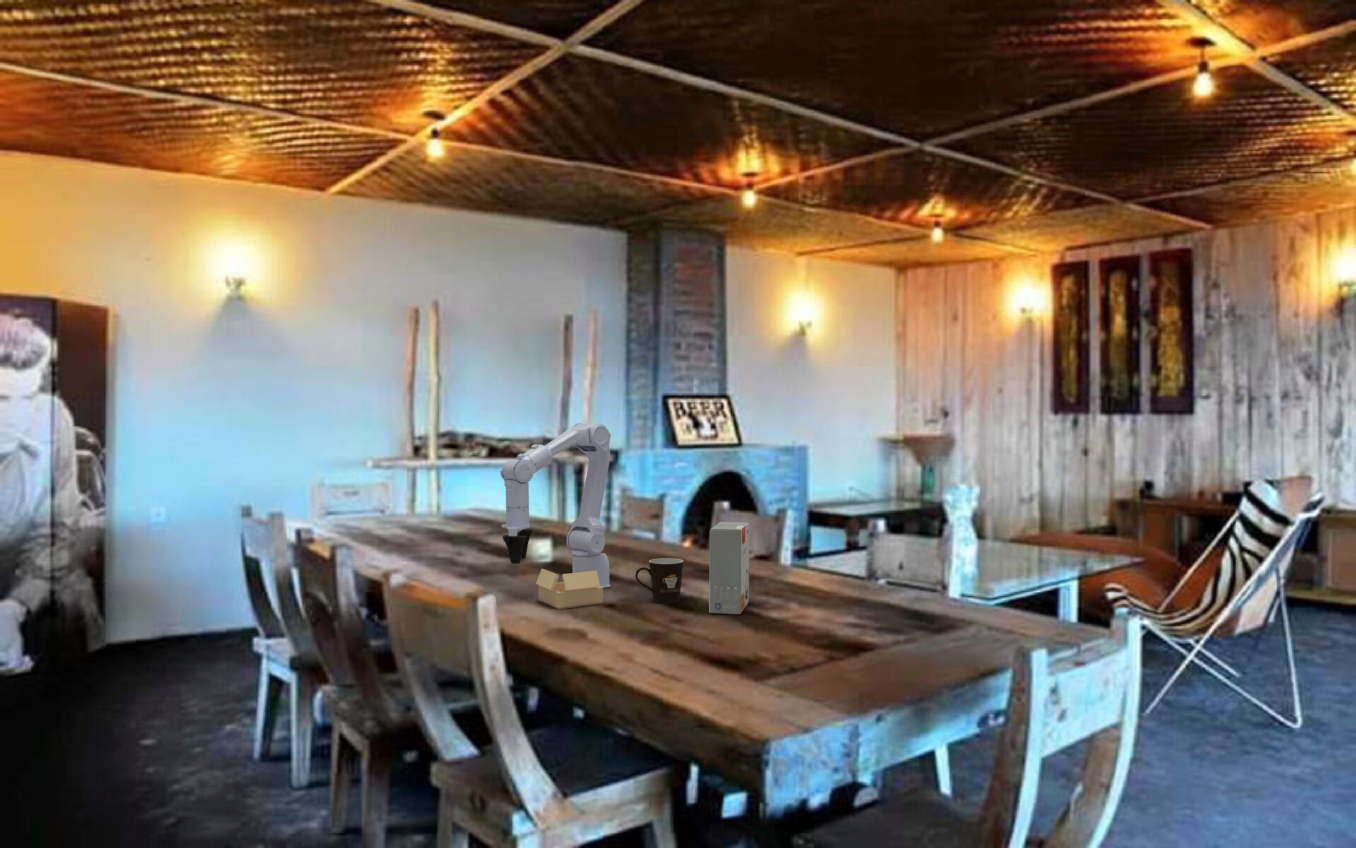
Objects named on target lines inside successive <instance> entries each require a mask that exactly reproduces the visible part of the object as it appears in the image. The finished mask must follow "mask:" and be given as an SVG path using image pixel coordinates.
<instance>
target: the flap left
mask: <svg viewBox="0 0 1356 848" xmlns="http://www.w3.org/2000/svg"><path fill="white" fill-rule="evenodd" d="M561 578H562V582H563V584H564V589H565V591H571V590H579V589H588V588H596V587H600V584H599V579H598V575H597V571H588V572H579V573H573V572H572V573H563V574H561Z"/></svg>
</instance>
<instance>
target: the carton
mask: <svg viewBox="0 0 1356 848" xmlns="http://www.w3.org/2000/svg"><path fill="white" fill-rule="evenodd" d="M538 602H540V603H543V604H544V605H547V606H550V607H552V608H554V609H556V610H564V609H565V610H567V609H571V608H572V609H573V608H579V607H588V606H594V605H603V604H604V588H603V587H596V588H588V589H579V590H571V591H565V589H564V584H563V581H561V582H556V585H555V587H554V590H553V591H552V590H550V589H547V588H545V587H542V586H540V585H538Z"/></svg>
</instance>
